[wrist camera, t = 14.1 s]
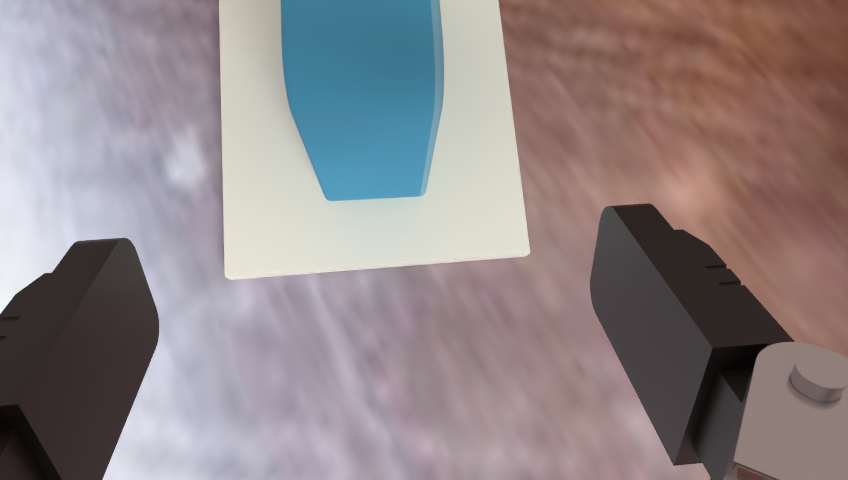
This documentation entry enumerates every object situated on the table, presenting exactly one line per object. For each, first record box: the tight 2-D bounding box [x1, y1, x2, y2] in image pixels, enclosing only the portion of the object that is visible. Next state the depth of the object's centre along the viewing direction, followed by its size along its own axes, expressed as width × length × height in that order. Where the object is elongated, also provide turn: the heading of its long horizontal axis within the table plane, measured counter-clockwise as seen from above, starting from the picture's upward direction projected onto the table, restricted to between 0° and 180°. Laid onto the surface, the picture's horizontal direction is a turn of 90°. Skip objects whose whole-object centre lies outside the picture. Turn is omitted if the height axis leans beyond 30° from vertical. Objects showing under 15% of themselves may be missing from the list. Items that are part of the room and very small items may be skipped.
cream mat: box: [219, 0, 530, 280], centre depth 30 cm, size 14×18×1 cm
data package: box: [281, 0, 444, 201], centre depth 23 cm, size 12×4×12 cm, turn 4°
